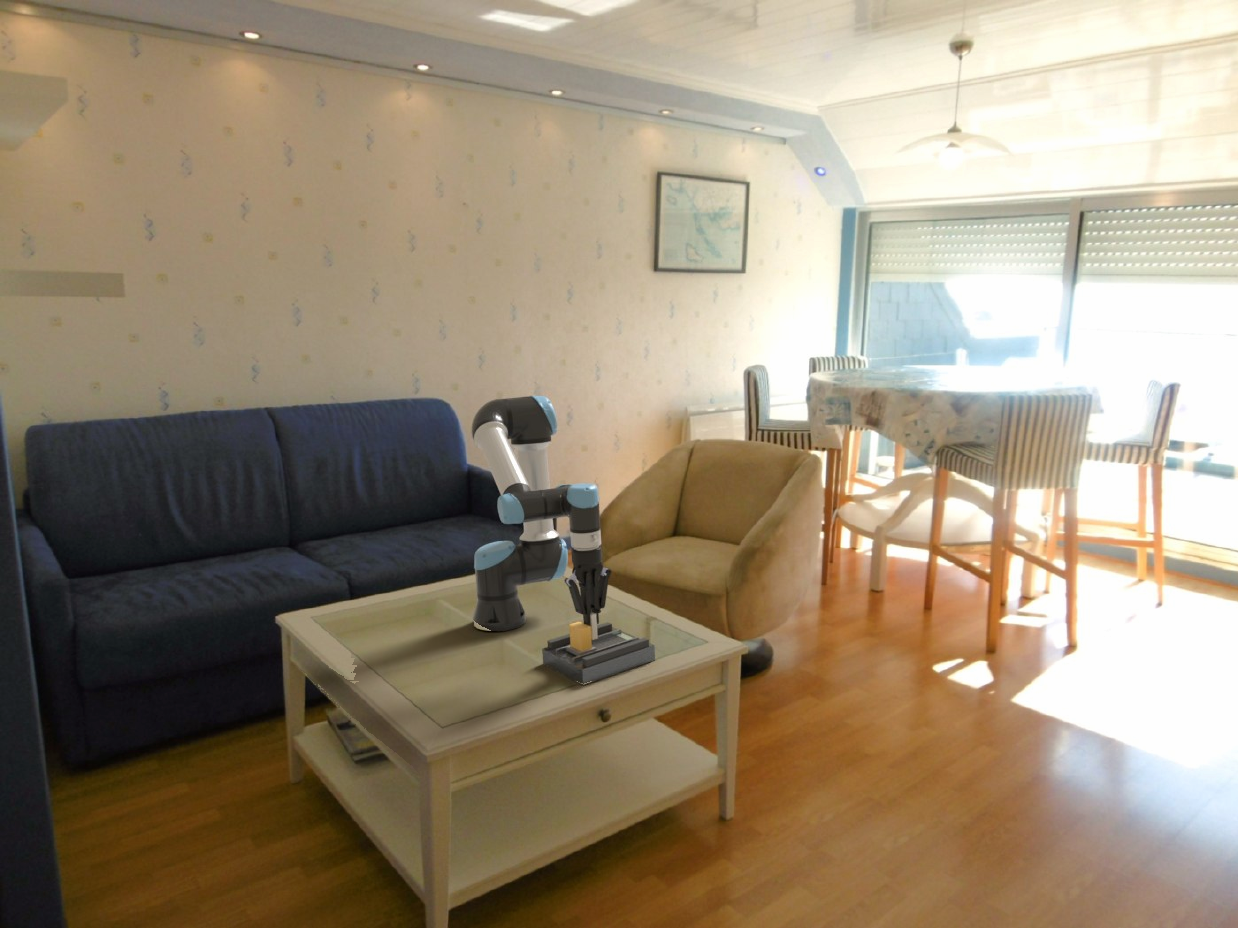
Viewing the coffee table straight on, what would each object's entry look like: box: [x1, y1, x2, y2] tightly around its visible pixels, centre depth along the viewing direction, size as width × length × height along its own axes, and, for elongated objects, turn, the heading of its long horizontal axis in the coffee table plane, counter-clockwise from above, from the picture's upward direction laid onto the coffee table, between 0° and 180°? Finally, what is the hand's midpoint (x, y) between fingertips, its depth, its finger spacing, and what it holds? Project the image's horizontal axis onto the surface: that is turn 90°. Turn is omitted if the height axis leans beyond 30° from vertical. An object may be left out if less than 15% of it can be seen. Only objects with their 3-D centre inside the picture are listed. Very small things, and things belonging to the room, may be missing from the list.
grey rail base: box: [541, 626, 656, 684], centre depth 221 cm, size 18×22×5 cm
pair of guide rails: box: [546, 622, 650, 667], centre depth 221 cm, size 17×19×2 cm
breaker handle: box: [566, 621, 596, 656], centre depth 218 cm, size 6×5×7 cm
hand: (592, 637), depth 220 cm, fingers closed
